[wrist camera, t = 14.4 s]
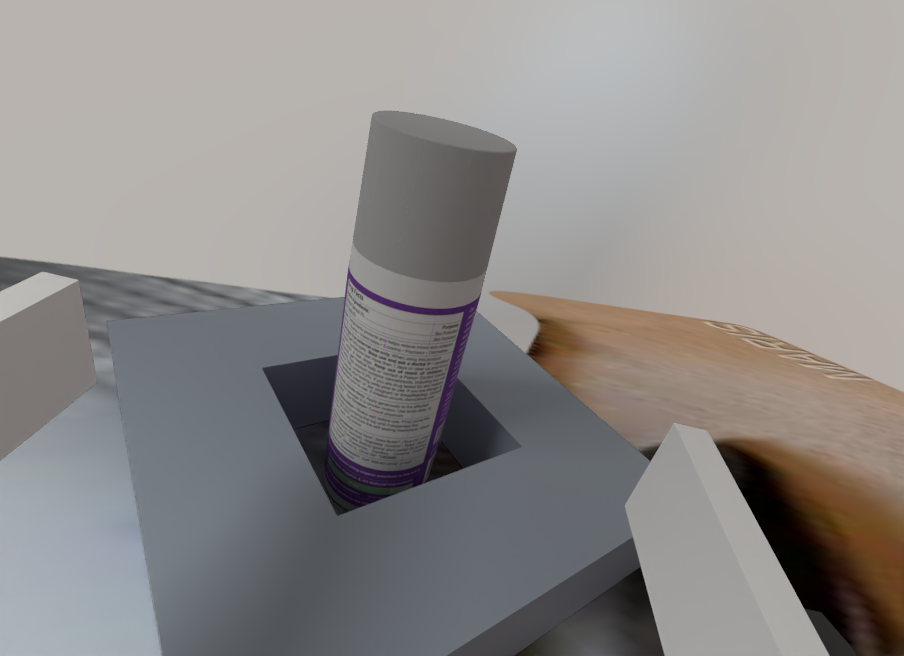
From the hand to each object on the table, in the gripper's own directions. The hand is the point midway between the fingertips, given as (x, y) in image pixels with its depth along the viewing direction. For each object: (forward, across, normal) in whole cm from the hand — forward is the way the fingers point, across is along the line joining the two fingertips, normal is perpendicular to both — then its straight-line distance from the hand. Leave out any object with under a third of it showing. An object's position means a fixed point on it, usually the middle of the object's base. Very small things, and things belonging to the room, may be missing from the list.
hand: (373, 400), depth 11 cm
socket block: (+7, 0, -10) cm, 12 cm away
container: (+7, 0, -10) cm, 12 cm away
